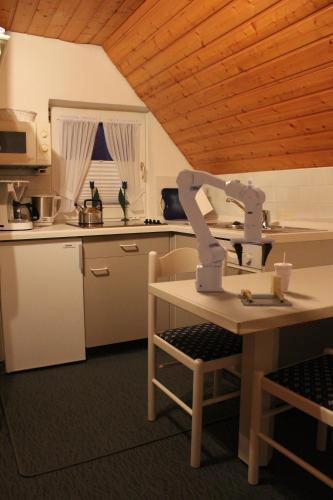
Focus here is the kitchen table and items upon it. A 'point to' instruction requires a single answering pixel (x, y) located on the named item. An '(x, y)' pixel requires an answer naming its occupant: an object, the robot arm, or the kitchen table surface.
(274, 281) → the orange block with stem
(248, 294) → the dividers bar
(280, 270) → the smoothie
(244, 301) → the flange plate
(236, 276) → the kitchen table surface
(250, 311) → the kitchen table surface
